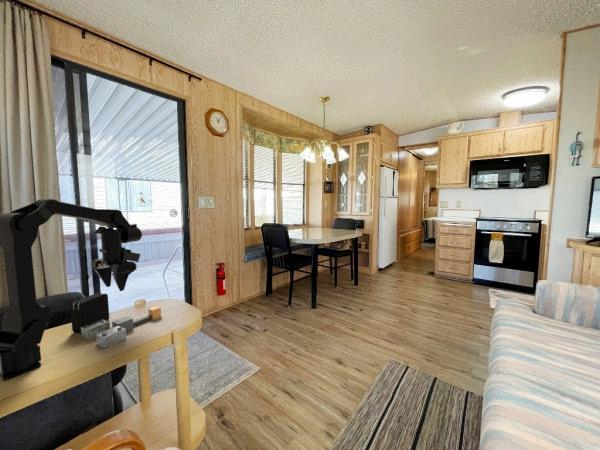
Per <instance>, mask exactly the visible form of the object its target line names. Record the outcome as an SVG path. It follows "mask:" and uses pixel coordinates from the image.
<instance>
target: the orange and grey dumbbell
mask: <svg viewBox="0 0 600 450" xmlns="http://www.w3.org/2000/svg"><path fill="white" fill-rule="evenodd" d="M147 312H148V314H147V315H146V316H143V317H141V318H138V319H136V320H134V318H133V317H130V316H123V317H121V318H118V319H115V320H113V321H111V325H112V326H110V328H109V329H112V328H114V327H117V326H120V327H122V328H124V329H126V332H128V331H131V330H133V329H134V328H135V327H137V326H139V325H143V324H145V323H147V322H149V321H153V320H156V319H159V318H161V317H162V308H161V307H160V306H157V305H156V306H152V307H150V308H148V309H147Z"/></svg>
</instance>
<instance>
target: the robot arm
mask: <svg viewBox="0 0 600 450" xmlns="http://www.w3.org/2000/svg"><path fill="white" fill-rule="evenodd" d="M122 212H123V211H121V210H119V209H111V208H110V209H109V208H108V209H105V208H104V209H103V208H100V209H99V208H93V207H87V206H83V205H78V204H73V203H69V202H63V201H60V200H57V199H53V198H43V199H42V198H40V199H37V200H35V201H34V202H31V203H30V204H27V205H24V206H22V207H19V208H17V209H14V210H11V211H10V212H5V213H0V247H1V249H2V251H3V252H2V253H3V261H4V270H5V279H6V288H7V300H8V306H7V308H6V310H5V312H4V314H3V315H2V320H1V321H2V322H1V328H0V376H1V377H2V378H3V379H2V378H1V377H0V378H1V379H2V380H3V381H7V380H6V379H8V380H10V379H13V378H15V377H18V376H20V375H22V374H25V373H27V372H29V371H33V370H35V369H36V368H40V367H41V366H42V363H41V361H42V357H41V356H42V354H41V346H40V345H39V344H41V342H42V340H43V337H44V333H45V330H46V329H47V328H48V325H49V321H51V320H52V318H51V317H50V314H49V313H50V307H49V305H46V304H40V303H39V302H38V301H37V290H36V289H37V288H36V279H35V272H34V260H33V259H34V258H33V252H32V249H33V245H34V244H35V242H36V240H37V238H38V237H39V236H38V235H39V229H40V228H39V227H40V226H42V225H43V224H45V223H48V221H49V220H50V219H51V217H53V216H54V215H55V216H61V217H68V218H74V219H77V220H78V219H80V220H86V221H89V222H91V223H92V224H95V225H98V228H97V229H95V231H93V234H94V235H96V234H97V235H100V238H101V239H100V241H101V248H99V250H98V251H99V253H101V255H102V256H101V257H102V258H96V259H93V260H92V261H91V262H90V264H91V267H90V268H92V269H93V271H94V272H95V273H96V274H97V275H98V278H100V280H101V281H102V283H103V284H104V285H105V286H106V288H110V287H111V284H112V279H113V280H114V282H115V283H116V287H117V288H118V290H119V291H120V292H122V291H123V292H124V290H125V288H126V285H127V284H126V283H127V281H128V278H129V276H130V275H131V273H134V272H135V271H137V263H138V262H139V261H140V257H141V253H138V252H132V250H131V249H128V248H126V247H125V246H124V247H123V244H128V243H133V242H139V241H140V240H141V239H142V238H143V233H142V231H141V229H140V228H139V227H137V226H138V224H137V223H129V222H128V220H127V219H126V218H125V216H124V215H123V213H122ZM112 277H113V278H112ZM12 377H13V378H12Z"/></svg>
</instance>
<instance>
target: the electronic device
mask: <svg viewBox="0 0 600 450" xmlns="http://www.w3.org/2000/svg"><path fill="white" fill-rule="evenodd" d="M109 306H110V305H109V295H108V293H94V294H92V295H88V296H85V297H83V298H81V299H80V298H79V299H78V300H75V301H72V302H71V303H70V306H69V308H70V317H71V319H70V320H71V331H72V332H73V333H81V327H82V326H85V325H88V324H91V323H94V322H97V321H99V320H102V319H103V320H106V321H108V322H109V319H110V310H109Z"/></svg>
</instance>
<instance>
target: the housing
mask: <svg viewBox="0 0 600 450" xmlns="http://www.w3.org/2000/svg"><path fill="white" fill-rule="evenodd" d="M110 324H111V323H110V321H109V320H108V321H106V320H103V319H102V320H99V321H97V322H94V323H91V324H88V325H85V326H82V327H81V332H80V333H81V337H82V338H84V339H86V340H87V341H89V340H92V339H94V338H96V346H99V347H100V348H101V349H107V348H109V347H111V346H113V345H116V344H118V343H120V342H122V341H123V342H124V341H125V340H127V331H126V329H124V328H122V327H120V326H117V327H114V328H112V329H109V328H110V327H111V325H110Z"/></svg>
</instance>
